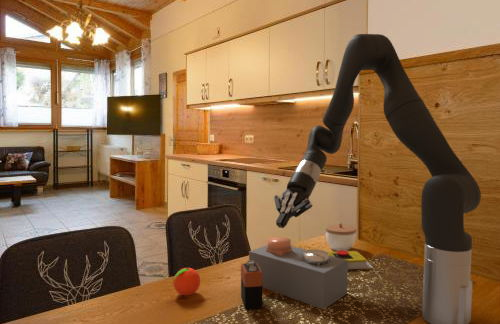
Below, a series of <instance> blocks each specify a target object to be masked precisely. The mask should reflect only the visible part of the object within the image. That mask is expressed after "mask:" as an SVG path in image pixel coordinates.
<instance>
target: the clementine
mask: <svg viewBox="0 0 500 324" xmlns="http://www.w3.org/2000/svg"><path fill="white" fill-rule="evenodd" d="M172 283H173V287H174V289H175V291H176V292H177V293H178V294H179V295H182V296H191V295H193V294H195V293H196V292H197V291H198V290H199V288H200V286H201V285H200V284H201V277H200V275H199V273H198V271H197V270H196V269H194V268H191V267H182V268H180V270H178V271H177V273H176V274H175V276H174V277H173V281H172Z"/></svg>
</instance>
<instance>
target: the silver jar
mask: <svg viewBox="0 0 500 324" xmlns="http://www.w3.org/2000/svg"><path fill="white" fill-rule="evenodd" d="M305 250H306V251H304V253H303V261H302V262H305V263H307V264H311V265H317V266H321V265H324V264H327V263H328V262H329V260H328V253H327V252H328V251H325V250H322V249H316V248H315V249H314V248H313V249H305Z"/></svg>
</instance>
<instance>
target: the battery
mask: <svg viewBox="0 0 500 324" xmlns="http://www.w3.org/2000/svg"><path fill="white" fill-rule="evenodd" d="M262 277H263V274H262V271H261V269H260V267H259V265H258V264H257V263H254V261H252V260H250V261H249V260H246V261H245V263H241V265H240V282H241V283H240V297H241V301H242V304H243V307H244V308H245V310H253V309H255V310H257V309H262V308H263V287H262Z"/></svg>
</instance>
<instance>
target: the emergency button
mask: <svg viewBox="0 0 500 324" xmlns="http://www.w3.org/2000/svg"><path fill="white" fill-rule="evenodd" d="M326 252H327V253H328V255H329V256H333V257H337V258H341V259H345V260H348V270H366V269H369V270H370V269H373V268H374V266H372V265H371V264H370V263H369V262H368V261H367V259H366V258H365V257H364V256H363V255H362V254H360V253H359V252H358V251H355V250H348V251H326Z"/></svg>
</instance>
